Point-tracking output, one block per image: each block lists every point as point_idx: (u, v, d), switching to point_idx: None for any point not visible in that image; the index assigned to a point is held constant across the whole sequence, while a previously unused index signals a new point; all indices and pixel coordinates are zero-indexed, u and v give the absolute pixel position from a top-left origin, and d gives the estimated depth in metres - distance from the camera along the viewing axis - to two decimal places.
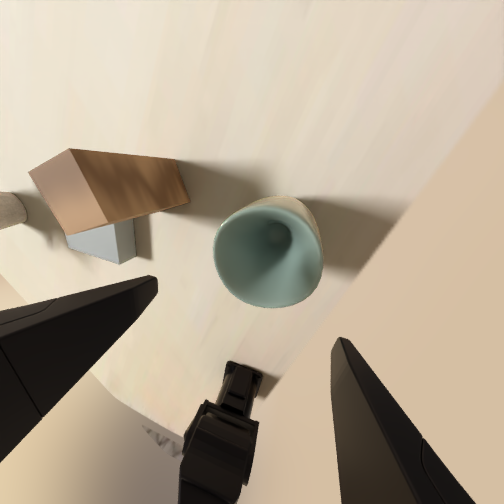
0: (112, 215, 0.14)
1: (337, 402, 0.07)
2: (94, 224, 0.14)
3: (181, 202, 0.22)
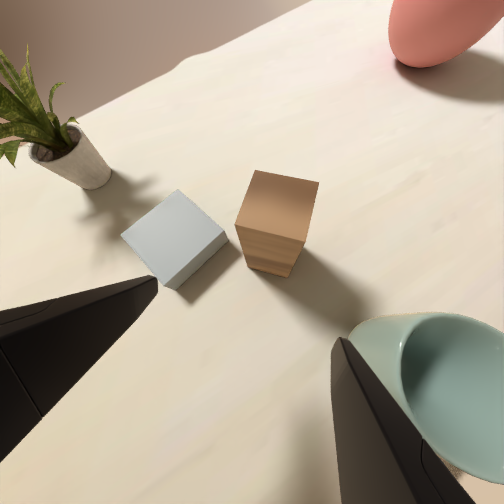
0: None
1: (337, 402, 0.07)
2: (285, 235, 0.13)
3: None
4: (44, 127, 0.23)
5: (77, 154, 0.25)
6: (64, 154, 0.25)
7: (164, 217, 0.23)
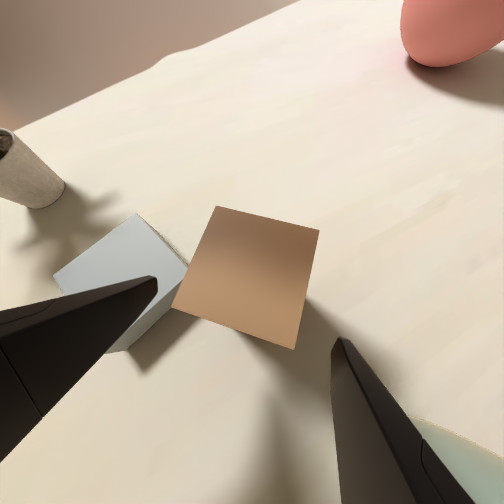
0: None
1: (337, 402, 0.07)
2: (258, 333, 0.07)
3: None
4: None
5: (5, 167, 0.19)
6: None
7: (113, 252, 0.18)
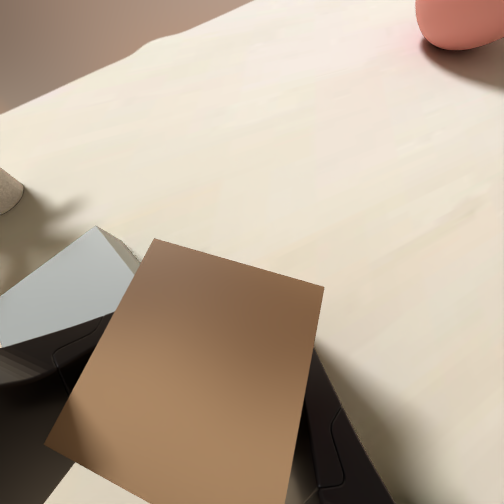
0: None
1: None
2: None
3: None
4: None
5: None
6: None
7: (63, 276, 0.14)
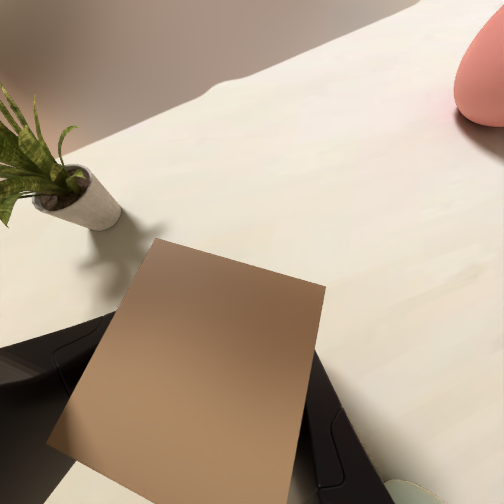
0: None
1: None
2: None
3: None
4: (49, 175, 0.20)
5: (83, 203, 0.22)
6: (69, 201, 0.22)
7: None
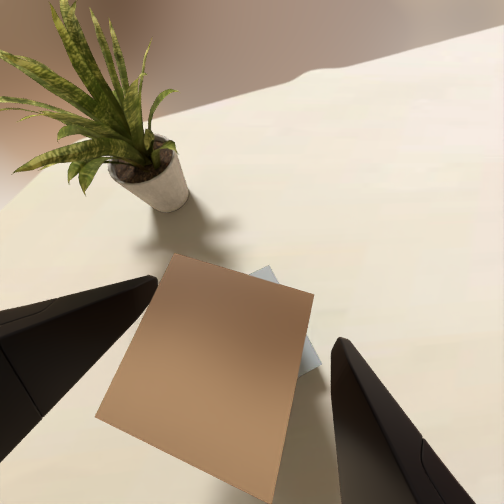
0: None
1: (337, 402, 0.07)
2: (218, 470, 0.05)
3: None
4: (135, 142, 0.17)
5: (161, 180, 0.19)
6: (146, 175, 0.19)
7: None
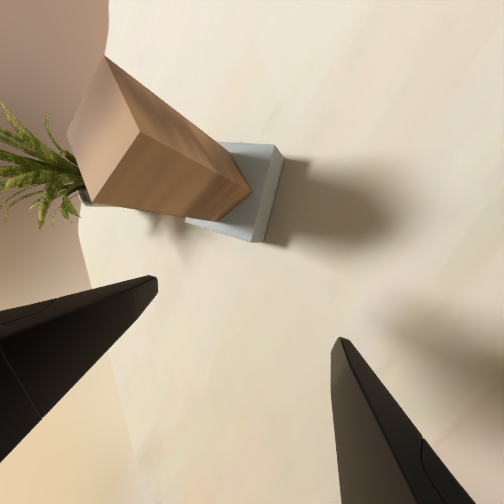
0: (149, 131, 0.09)
1: (337, 402, 0.07)
2: (123, 152, 0.09)
3: (243, 185, 0.16)
4: (70, 170, 0.23)
5: None
6: None
7: None
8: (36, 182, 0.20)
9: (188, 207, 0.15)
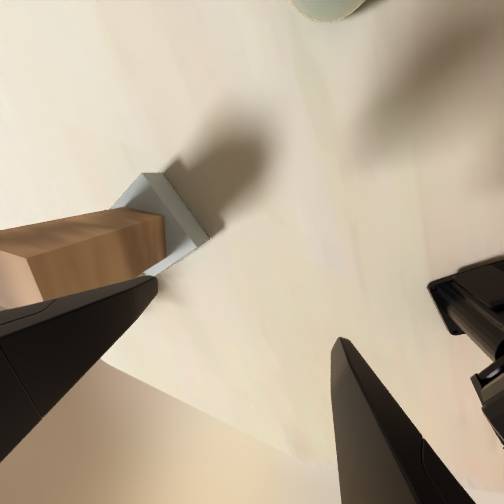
0: (34, 252, 0.11)
1: (337, 402, 0.07)
2: (33, 279, 0.11)
3: (150, 219, 0.18)
4: None
5: None
6: None
7: None
8: None
9: (128, 268, 0.17)
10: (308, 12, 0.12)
